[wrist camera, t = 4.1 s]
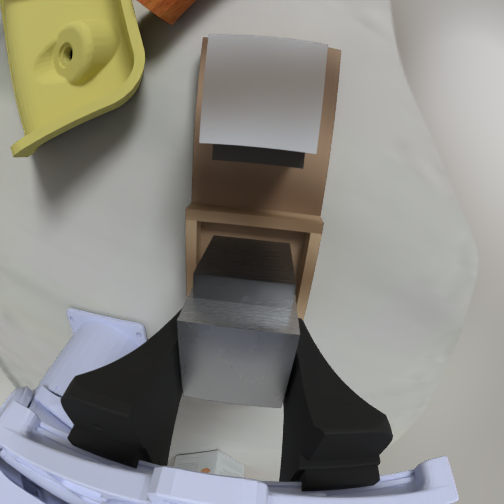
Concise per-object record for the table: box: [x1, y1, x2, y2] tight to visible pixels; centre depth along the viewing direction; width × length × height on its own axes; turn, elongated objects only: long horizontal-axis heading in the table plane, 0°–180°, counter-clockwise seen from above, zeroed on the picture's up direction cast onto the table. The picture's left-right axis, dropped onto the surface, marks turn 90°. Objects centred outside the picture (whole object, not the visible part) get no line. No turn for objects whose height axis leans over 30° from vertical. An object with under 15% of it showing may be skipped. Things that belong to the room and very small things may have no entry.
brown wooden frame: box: [186, 34, 341, 320], centre depth 14 cm, size 18×7×7 cm, turn 175°
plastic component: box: [0, 0, 145, 157], centre depth 10 cm, size 20×7×10 cm
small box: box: [174, 450, 245, 478], centre depth 28 cm, size 8×6×13 cm
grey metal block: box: [177, 235, 300, 408], centre depth 13 cm, size 5×4×6 cm
